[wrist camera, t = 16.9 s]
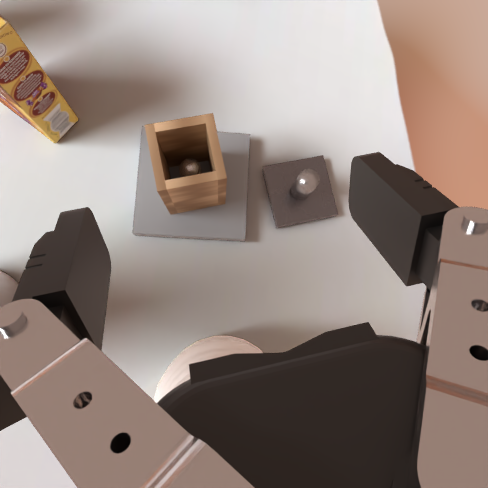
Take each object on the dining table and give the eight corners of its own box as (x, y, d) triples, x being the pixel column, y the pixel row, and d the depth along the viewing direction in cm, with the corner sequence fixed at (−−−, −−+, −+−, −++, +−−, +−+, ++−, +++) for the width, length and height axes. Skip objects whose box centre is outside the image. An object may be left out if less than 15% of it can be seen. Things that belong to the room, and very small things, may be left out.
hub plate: (135, 235, 42) (120, 223, 36) (144, 132, 44) (131, 102, 37) (244, 241, 43) (248, 231, 36) (249, 139, 45) (254, 112, 38)
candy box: (82, 117, 44) (10, 21, 29) (57, 145, 43) (-31, 62, 28) (21, 71, 44) (-82, -48, 29) (-5, 98, 43) (-124, -9, 28)
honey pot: (134, 387, 40) (67, 458, 22) (232, 310, 42) (243, 319, 24) (209, 490, 39) (201, 651, 21) (306, 407, 41) (374, 491, 23)
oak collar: (170, 214, 41) (157, 191, 32) (160, 162, 42) (144, 124, 33) (225, 203, 42) (226, 178, 33) (214, 152, 42) (212, 113, 34)
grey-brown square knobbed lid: (276, 228, 43) (283, 218, 38) (262, 169, 44) (268, 153, 39) (335, 216, 44) (349, 205, 39) (320, 158, 45) (333, 141, 40)
